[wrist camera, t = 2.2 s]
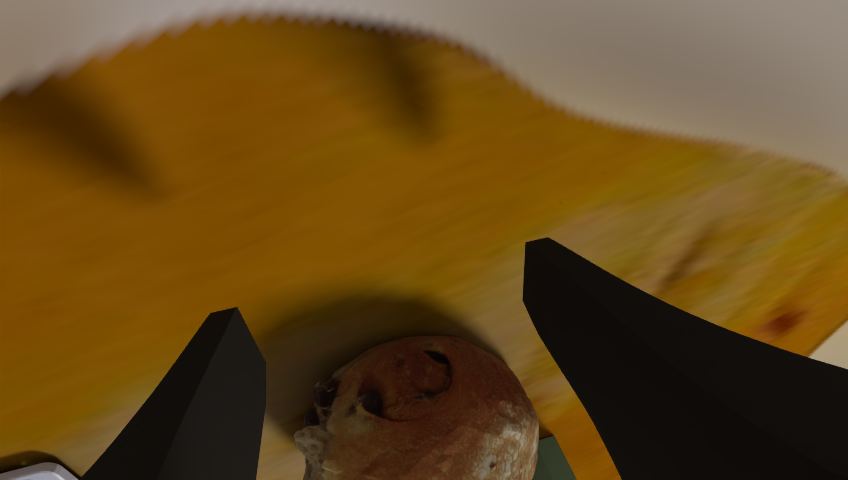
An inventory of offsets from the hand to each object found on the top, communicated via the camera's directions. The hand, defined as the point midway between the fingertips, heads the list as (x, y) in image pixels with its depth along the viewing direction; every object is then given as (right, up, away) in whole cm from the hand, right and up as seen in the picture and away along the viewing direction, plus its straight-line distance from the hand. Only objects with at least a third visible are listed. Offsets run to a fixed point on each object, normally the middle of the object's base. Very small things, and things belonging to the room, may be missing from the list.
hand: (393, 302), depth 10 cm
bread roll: (0, -6, +9) cm, 11 cm away
